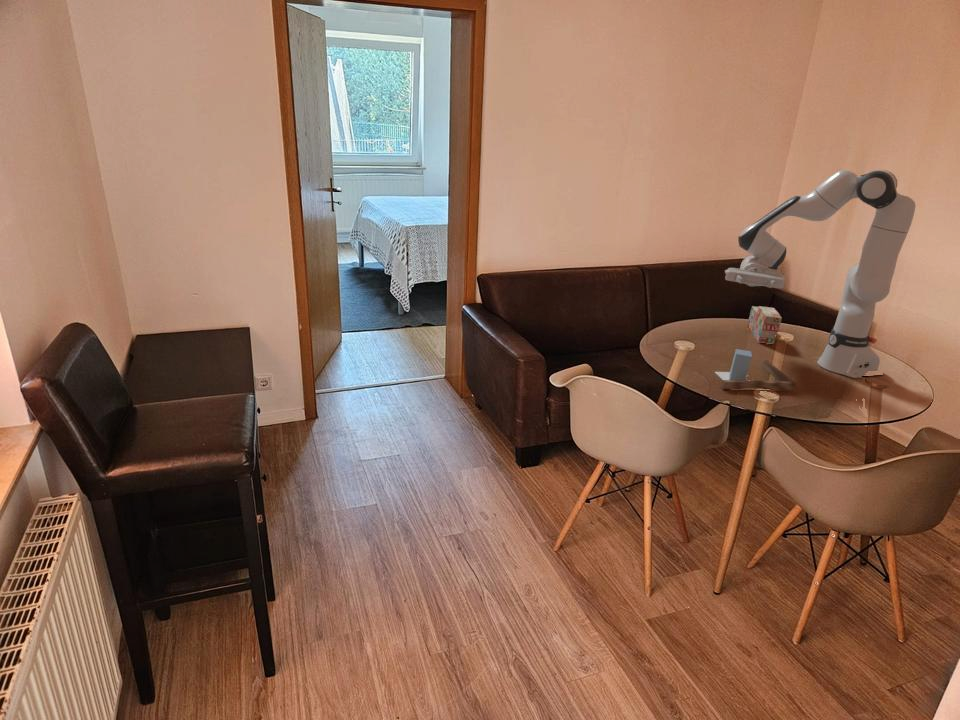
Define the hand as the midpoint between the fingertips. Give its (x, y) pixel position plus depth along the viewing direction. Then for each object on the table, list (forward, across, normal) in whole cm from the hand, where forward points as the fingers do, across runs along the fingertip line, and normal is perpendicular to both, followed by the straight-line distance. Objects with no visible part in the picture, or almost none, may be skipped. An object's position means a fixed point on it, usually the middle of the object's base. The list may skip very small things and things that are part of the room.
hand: (755, 283), depth 216 cm
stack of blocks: (-34, +11, +30) cm, 47 cm away
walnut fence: (+17, +3, +30) cm, 35 cm away
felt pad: (+20, 0, +30) cm, 36 cm away
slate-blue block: (+20, 0, +30) cm, 36 cm away
